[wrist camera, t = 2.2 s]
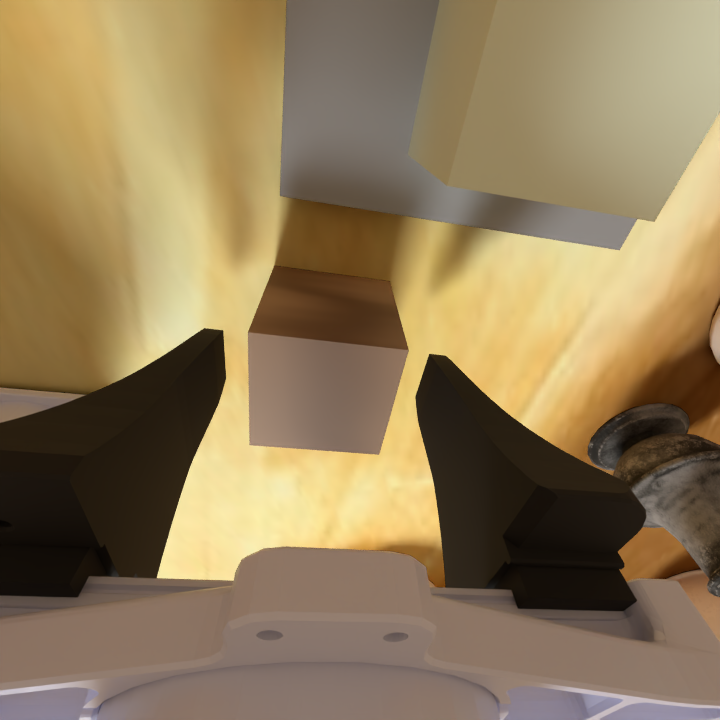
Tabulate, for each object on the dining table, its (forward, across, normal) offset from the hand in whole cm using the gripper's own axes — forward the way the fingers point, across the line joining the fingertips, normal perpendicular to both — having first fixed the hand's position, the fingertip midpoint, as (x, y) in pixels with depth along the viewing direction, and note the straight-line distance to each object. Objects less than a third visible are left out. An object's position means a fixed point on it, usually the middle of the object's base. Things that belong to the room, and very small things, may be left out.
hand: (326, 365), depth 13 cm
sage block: (+2, -4, -9) cm, 10 cm away
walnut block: (+3, 0, 0) cm, 3 cm away
